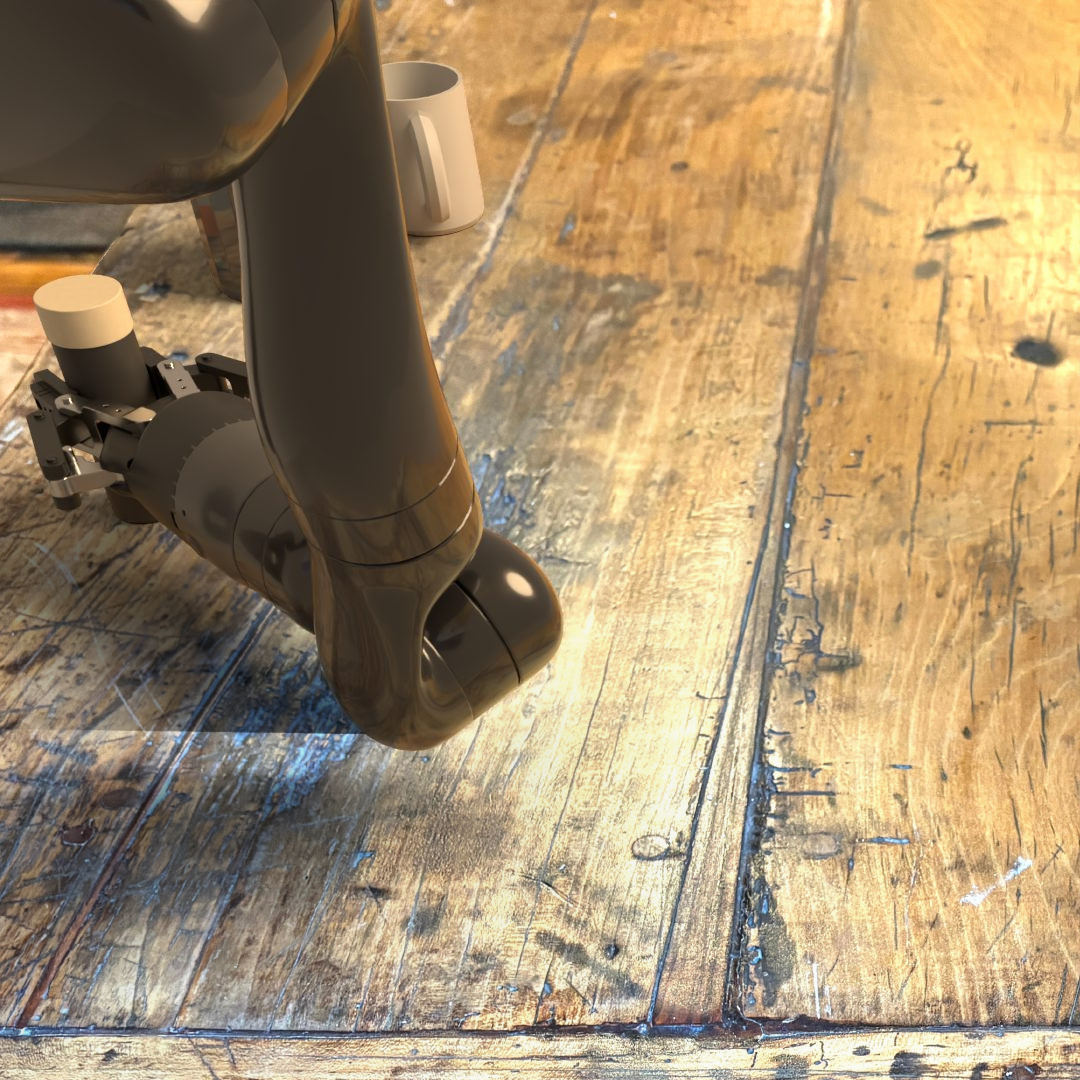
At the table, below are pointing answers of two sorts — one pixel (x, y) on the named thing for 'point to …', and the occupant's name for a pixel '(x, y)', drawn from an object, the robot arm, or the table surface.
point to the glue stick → (97, 352)
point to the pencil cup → (220, 238)
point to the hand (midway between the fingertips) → (87, 374)
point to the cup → (433, 147)
